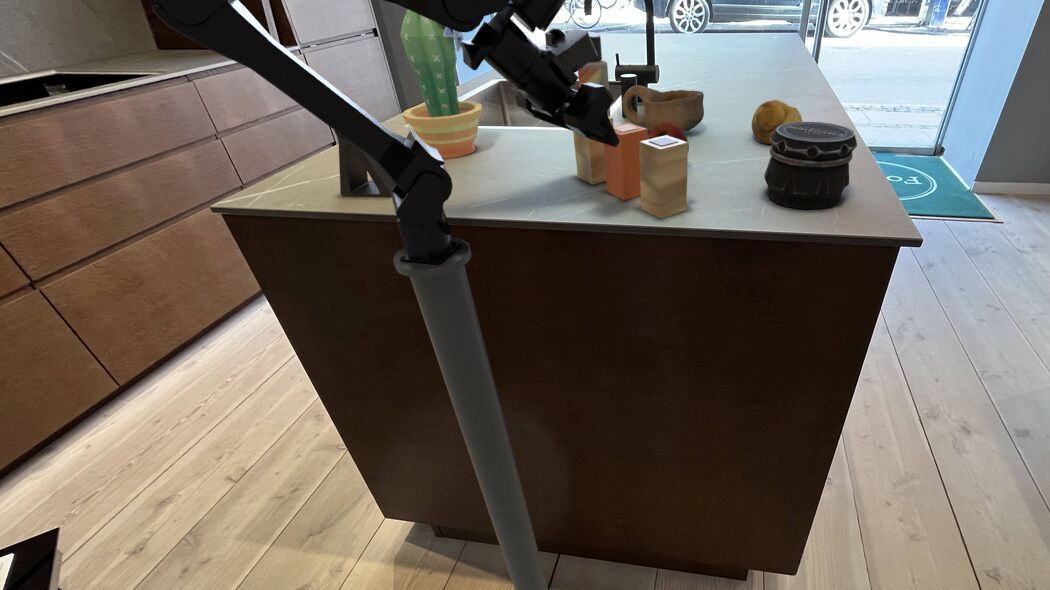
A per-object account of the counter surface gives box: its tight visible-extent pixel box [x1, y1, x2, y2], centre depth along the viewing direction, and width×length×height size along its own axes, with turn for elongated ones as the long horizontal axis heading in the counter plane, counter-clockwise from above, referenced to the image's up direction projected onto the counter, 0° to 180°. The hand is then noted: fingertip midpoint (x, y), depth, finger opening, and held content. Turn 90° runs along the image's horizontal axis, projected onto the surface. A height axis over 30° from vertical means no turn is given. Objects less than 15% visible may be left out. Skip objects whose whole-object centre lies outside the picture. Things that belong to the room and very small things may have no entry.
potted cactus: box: [399, 9, 483, 159], centre depth 101 cm, size 15×15×25 cm
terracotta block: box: [604, 122, 649, 201], centre depth 84 cm, size 5×5×10 cm
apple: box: [648, 122, 690, 152], centre depth 94 cm, size 7×8×8 cm
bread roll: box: [751, 99, 803, 145], centre depth 107 cm, size 13×10×8 cm
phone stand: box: [333, 129, 396, 198], centre depth 88 cm, size 9×6×12 cm, turn 84°
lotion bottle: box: [577, 31, 611, 117], centre depth 103 cm, size 6×6×20 cm
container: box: [763, 121, 858, 210], centre depth 80 cm, size 13×13×10 cm
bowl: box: [621, 84, 705, 133], centre depth 113 cm, size 18×14×10 cm
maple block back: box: [572, 116, 614, 186], centre depth 90 cm, size 5×5×10 cm
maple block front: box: [639, 135, 689, 220], centre depth 78 cm, size 5×5×10 cm
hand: (600, 137), depth 79 cm, fingers open, 9 cm apart
